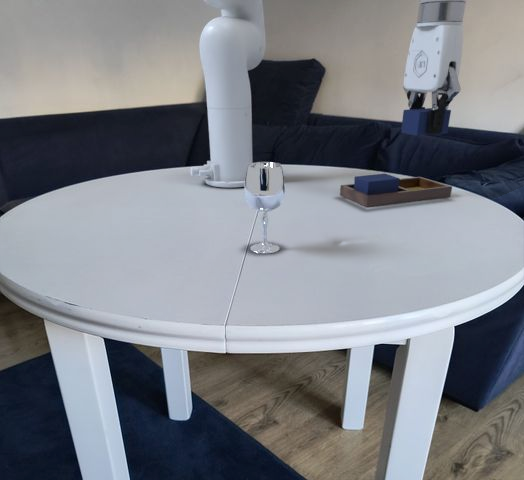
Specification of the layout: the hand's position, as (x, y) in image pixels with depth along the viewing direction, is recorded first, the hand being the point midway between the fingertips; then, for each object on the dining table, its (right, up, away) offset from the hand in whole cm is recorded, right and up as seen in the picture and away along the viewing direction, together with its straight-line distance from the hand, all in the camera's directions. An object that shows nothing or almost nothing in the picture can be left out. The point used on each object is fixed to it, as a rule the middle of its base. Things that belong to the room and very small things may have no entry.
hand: (424, 130), depth 92 cm
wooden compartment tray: (-4, -11, +5) cm, 13 cm away
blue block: (-9, -12, +3) cm, 15 cm away
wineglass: (-31, -27, -19) cm, 45 cm away
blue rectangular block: (0, 0, 0) cm, 0 cm away
